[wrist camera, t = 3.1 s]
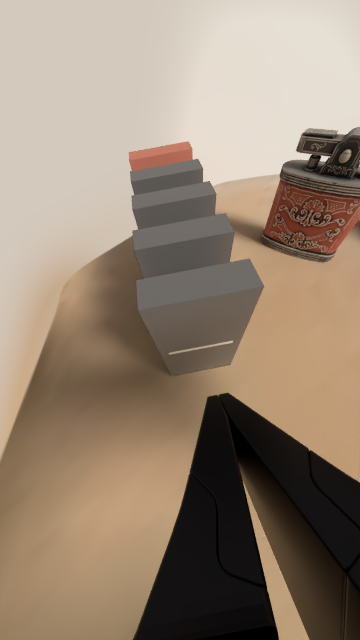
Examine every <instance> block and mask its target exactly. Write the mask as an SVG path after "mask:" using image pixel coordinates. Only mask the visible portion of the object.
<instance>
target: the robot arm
mask: <svg viewBox="0 0 360 640" xmlns="http://www.w3.org/2000/svg"><path fill="white" fill-rule="evenodd" d="M242 479H243V480H242ZM243 481H244V484H245V486H246V489H247V491H248V493H249V496H250V498H251V501H252V503H253V505H254V508H255V510H256V512H257V515H258V517H259V520H260V522H261V524H262V527H263V529H264V532H265V534H266V536H267V539H268V541H269V544H270V546H271V548H272V551H273V553H274V556H275V558H276V560H277V563H278V565H279V568H280V570H281V572H282V575H283V577H284V580H285V582H286V584H287V587H288V589H289V591H290V594H291V596H292V599H293V601H294V603H295V606H296V608H297V611H298V613H299V615H300V618H301V620H302V623H303V625H304V627H305V630H306V632H307V635H308V637H309V639H310V640H360V482H358V481H357V480H355V479H353V478H352V477H350V476H349V475H347V474H346V473H344V472H342V471H341V470H339V469H338V468H336V467H335V466H333V465H332V464H330V463H329V462H327V461H326V460H324V459H323V458H322V457H320V456H319V455H317V454H316V453H314V452H313V451H311V450H310V451H309V449H308V448H307V447H306V446H304V445H303V444H301V443H300V442H298V441H297V440H295V439H294V438H293V437H291V436H290V435H288V434H287V433H285V432H284V431H283V430H281V429H280V428H278V427H277V426H275V425H274V424H272V423H271V422H270V421H268V420H267V419H265V418H264V417H262V416H261V415H259V414H258V413H257V412H255V411H254V410H252V409H251V408H249V407H248V406H247V405H245V404H244V403H242V402H241V401H239V400H238V399H236V398H235V397H234V396H232V395H231V394H229V393H224V394H220V395H219V396H217V395H214V396H209V397H208V398H207V402H206V406H205V410H204V414H203V418H202V423H201V427H200V431H199V435H198V439H197V444H196V448H195V452H194V456H193V460H192V464H191V469H190V474H189V476H188V481H187V485H186V489H185V492H184V496H183V500H182V503H181V507H180V510H179V513H178V516H177V519H176V522H175V525H174V529H173V532H172V535H171V537H170V540H169V543H168V546H167V548H166V551H165V554H164V557H163V559H162V562H161V565H160V568H159V571H158V573H157V576H156V579H155V582H154V584H153V587H152V590H151V593H150V596H149V598H148V601H147V604H146V607H145V609H144V612H143V615H142V617H141V620H140V623H139V625H138V628H137V631H136V633H135V635H134V638H133V640H279V638H278V631H277V627H276V623H275V619H274V615H273V611H272V607H271V602H270V598H269V594H268V591H267V585H266V581H265V576H264V572H263V567H262V563H261V559H260V554H259V550H258V546H257V541H256V537H255V533H254V528H253V524H252V520H251V515H250V511H249V506H248V502H247V498H246V493H245V489H244V485H243Z"/></svg>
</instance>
